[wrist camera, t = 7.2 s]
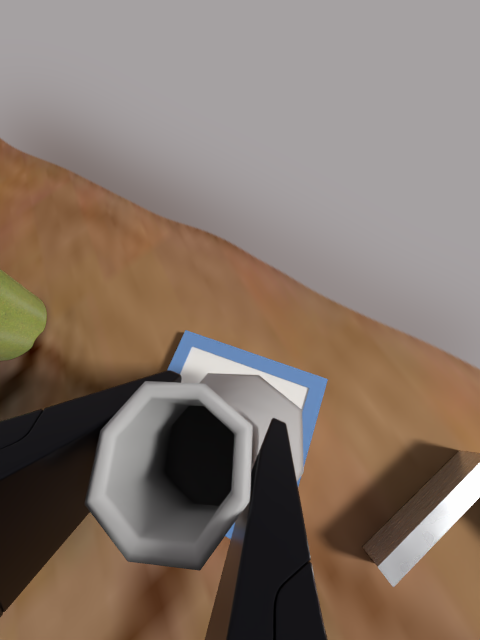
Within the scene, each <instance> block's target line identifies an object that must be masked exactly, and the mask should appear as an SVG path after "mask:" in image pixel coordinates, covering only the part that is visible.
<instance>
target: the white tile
mask: <svg viewBox="0 0 480 640" xmlns="http://www.w3.org/2000/svg"><path fill="white" fill-rule="evenodd" d="M168 370H171V371H174V372H176V373H178V374H180V375H181V377H182V380H181V383H200V382H201V381H202V379H203V378H204V377H205V376H206V375H207V374H208V373H218V374H245V375H260V376H261V377H262V378H263V379H264V380H266V381H267V382H268V383H269V384H271V385H272V386H273V387H274V388H276V389H277V390H278V391H279V392H281V393H282V394H283V395H284V396H286V397H287V398H288V399H289V400H290V401H292V402H293V403H294V404H295V405H297V406H298V407H299V408H300V409H302V425H303V467H304V464H305V460H306V457H307V453H308V449H309V446H310V442H311V438H312V435H313V431H314V427H315V424H316V420H317V417H318V413H319V409H320V406H321V402H322V398H323V395H324V391H325V387H326V384H327V380H328V379H325V378H323V377H320V376H317V375H314V374H311V373H308V372H305V371H302V370H299V369H297V368H294V367H291V366H288V365H285V364H282V363H279V362H276V361H273V360H271V359H268V358H265V357H262V356H259V355H256V354H253V353H250V352H247V351H244V350H242V349H239V348H236V347H233V346H230V345H227V344H224V343H221V342H218V341H216V340H213V339H210V338H207V337H204V336H201V335H198V334H195V333H192V332H190V331H187V330H185V333H184V335H183V337H182V339H181V341H180V343H179V346H178V348H177V350H176V352H175V354H174V356H173V359H172V361H171V363H170V365H169V367H168ZM168 370H167V371H168ZM300 479H301V477H300V478H299V480H298V481H297V485H298V486H299V482H300ZM234 525H235V523H234V524H233V525H232V527H231V528H230V529H229V531H228V532H227V534H226V535H225V536H226V537H228V538H230V539H231V537H232V533H233V529H234Z"/></svg>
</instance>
